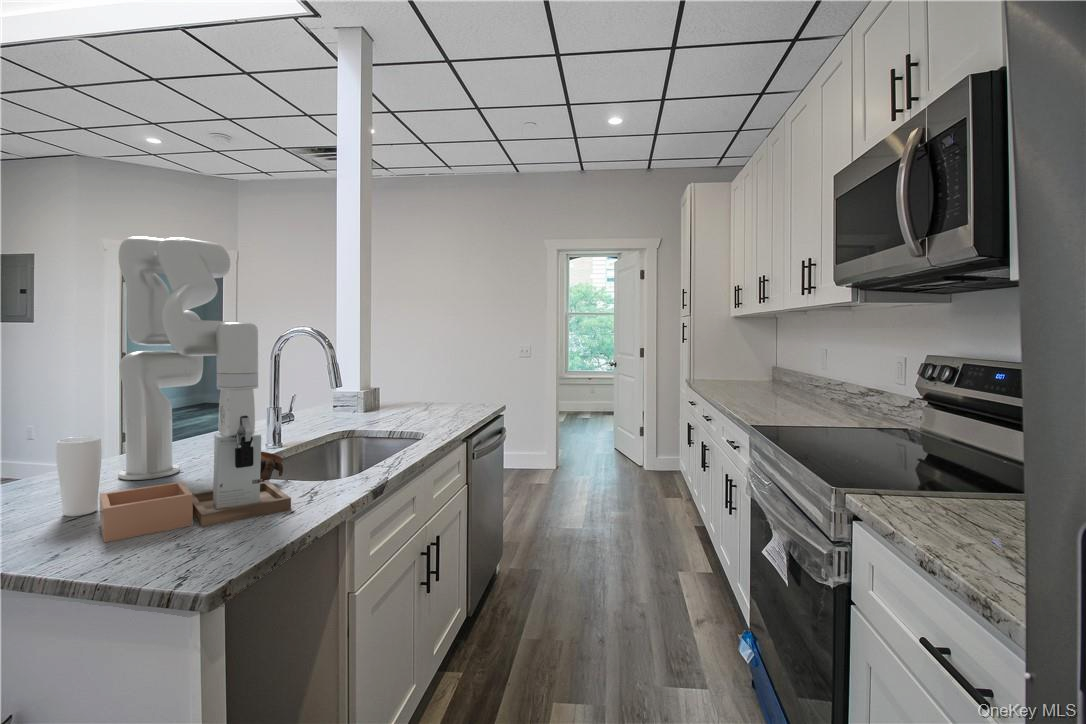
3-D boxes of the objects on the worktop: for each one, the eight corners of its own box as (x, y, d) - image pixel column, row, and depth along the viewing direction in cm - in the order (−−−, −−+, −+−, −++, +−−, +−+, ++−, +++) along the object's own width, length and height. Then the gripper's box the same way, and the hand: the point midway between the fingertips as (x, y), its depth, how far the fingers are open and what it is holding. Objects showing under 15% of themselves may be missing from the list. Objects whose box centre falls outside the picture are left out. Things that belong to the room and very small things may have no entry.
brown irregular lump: (230, 482, 129) (243, 450, 133) (267, 492, 135) (279, 462, 139) (248, 479, 121) (262, 446, 125) (287, 490, 127) (299, 458, 131)
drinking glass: (75, 520, 100) (74, 443, 99) (48, 517, 102) (46, 441, 101) (111, 509, 107) (110, 437, 106) (85, 506, 108) (83, 435, 107)
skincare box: (215, 510, 105) (215, 437, 104) (212, 502, 109) (212, 432, 109) (262, 503, 110) (262, 433, 109) (257, 495, 115) (257, 429, 114)
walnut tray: (186, 505, 110) (186, 494, 110) (268, 491, 121) (268, 481, 121) (201, 527, 98) (201, 514, 98) (291, 509, 109) (291, 498, 109)
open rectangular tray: (100, 524, 98) (99, 493, 98) (182, 510, 107) (182, 481, 107) (104, 542, 90) (103, 508, 90) (192, 525, 99) (192, 494, 99)
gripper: (207, 378, 112) (208, 457, 113) (227, 385, 99) (227, 473, 100) (246, 377, 117) (247, 452, 118) (269, 384, 104) (270, 467, 105)
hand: (238, 462), depth 109 cm, fingers open, 9 cm apart
